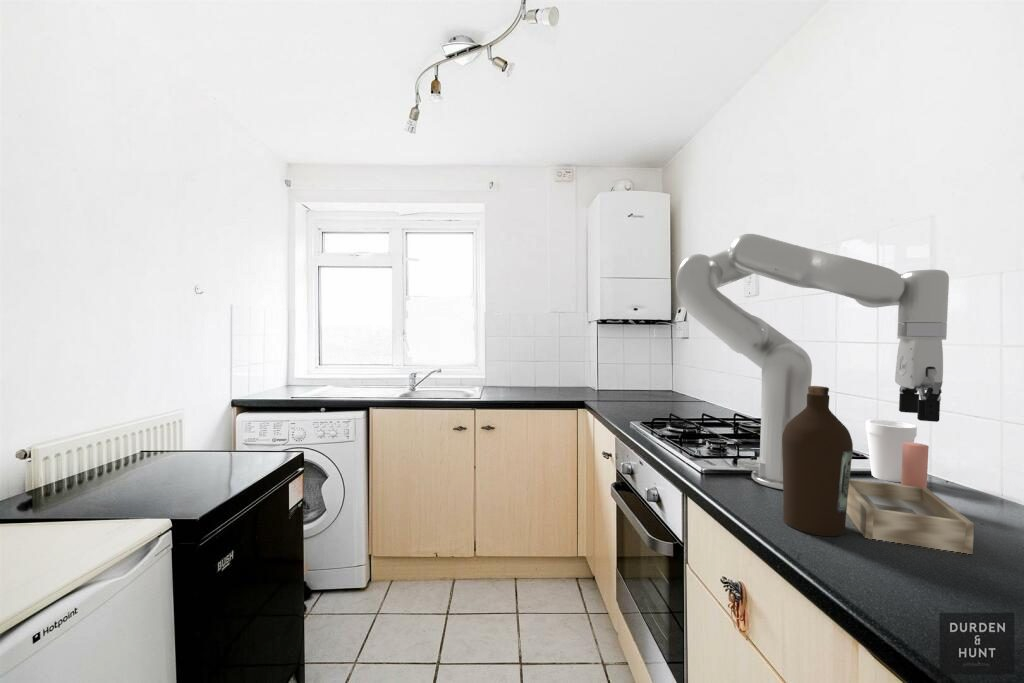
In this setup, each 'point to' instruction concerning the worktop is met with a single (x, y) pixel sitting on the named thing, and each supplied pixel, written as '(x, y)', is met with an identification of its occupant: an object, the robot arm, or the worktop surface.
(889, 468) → the foam cup
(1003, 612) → the worktop surface
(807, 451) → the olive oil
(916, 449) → the peg
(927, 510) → the box
